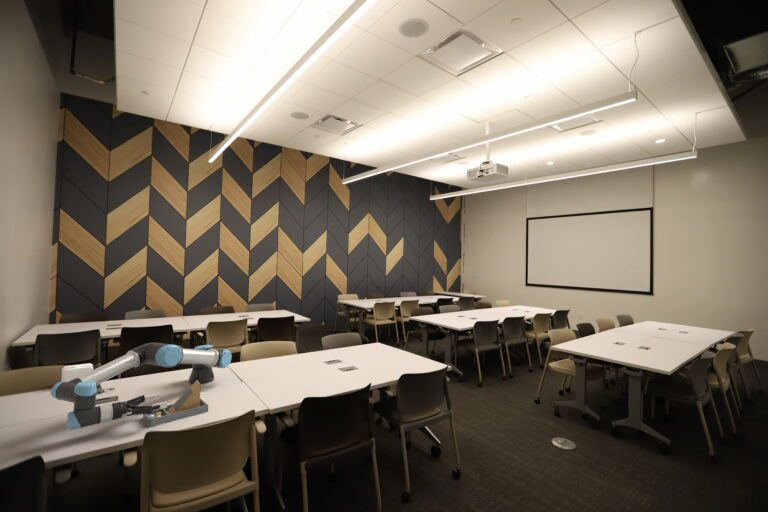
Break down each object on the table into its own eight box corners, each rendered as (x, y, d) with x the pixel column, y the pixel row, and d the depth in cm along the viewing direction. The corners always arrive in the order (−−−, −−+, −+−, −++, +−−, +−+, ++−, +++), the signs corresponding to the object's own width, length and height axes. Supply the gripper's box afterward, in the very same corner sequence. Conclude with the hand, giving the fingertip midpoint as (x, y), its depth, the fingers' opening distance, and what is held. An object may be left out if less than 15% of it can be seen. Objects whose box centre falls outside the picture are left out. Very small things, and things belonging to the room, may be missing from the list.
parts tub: (199, 404, 200) (199, 397, 200) (208, 411, 191) (208, 404, 191) (142, 418, 181) (143, 411, 181) (149, 426, 172) (149, 419, 172)
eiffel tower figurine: (115, 388, 220) (116, 367, 220) (112, 394, 211) (113, 372, 211) (84, 392, 213) (85, 369, 213) (79, 398, 204) (80, 374, 204)
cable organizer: (60, 389, 214) (61, 370, 214) (61, 384, 222) (62, 366, 222) (92, 384, 224) (93, 366, 224) (92, 380, 232) (93, 362, 232)
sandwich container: (163, 413, 187) (165, 384, 188) (196, 406, 197) (197, 379, 197) (166, 419, 181) (167, 389, 181) (199, 412, 190) (200, 384, 190)
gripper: (106, 411, 175) (156, 400, 190) (116, 429, 157) (170, 415, 172) (107, 396, 175) (156, 386, 190) (116, 412, 157) (170, 400, 172)
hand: (163, 400), depth 181 cm, fingers open, 13 cm apart
